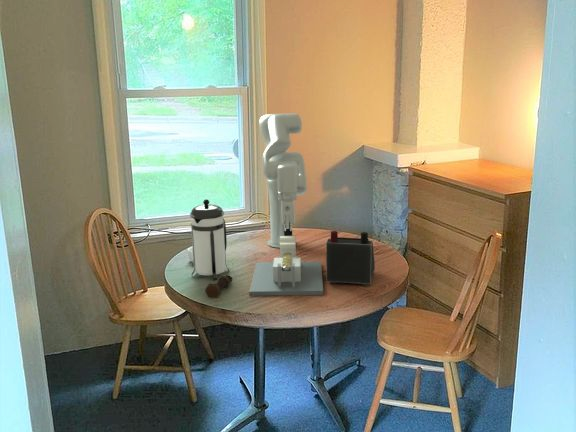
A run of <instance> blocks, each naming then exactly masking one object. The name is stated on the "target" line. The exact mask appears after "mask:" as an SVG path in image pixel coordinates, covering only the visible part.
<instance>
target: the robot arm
mask: <svg viewBox="0 0 576 432" xmlns="http://www.w3.org/2000/svg"><path fill="white" fill-rule="evenodd" d="M258 125H259V131H260V132H259V133H260V134H261V137H262V140H263V142H264V144H265V146H266V148H265V149H264V151H263V154H262V156H261V165H262V173H263V177H264V178H265V180H266V186H267V194H268V199H269V221H270V222H269V224H270V239H267V245H268V246H269V247H271V248H277V249H278V248H279V249H280V236H293V228H292V225H293V226H294V225H296V208H295V207H296V206H295V204H296V203H295V201H296V200H298V196H302V195H305V194H306V193H307V190H308V181H307V174H306V165H305V159H304V156H303V155H302V153H300V152H297V151H296V152H295V151H293V152H292V151H291V152H288V151H287V150H289V149H290V147H291V145H292V143H291V137H290V135H291V134H292V135H293V134H300V133H301V132H302V129H303V123H302V118H301V117H300V115H299V114H297V113H294V112H293V113H291V112H290V113H289V112H288V113H270V114H269V113H268V114H264V115H262V116H261V117H260V118H259V124H258Z"/></svg>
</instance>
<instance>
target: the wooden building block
mask: <svg viewBox="0 0 576 432" xmlns="http://www.w3.org/2000/svg"><path fill="white" fill-rule="evenodd" d="M282 271H291V253H284V254H283V263H282Z"/></svg>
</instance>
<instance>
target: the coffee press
mask: <svg viewBox="0 0 576 432" xmlns="http://www.w3.org/2000/svg"><path fill="white" fill-rule="evenodd" d="M202 203H203V204H201V205H197V206H195V207H193V208H192V209H191V211H190V213H189V217H190V219H191V223H190V228H191V244H192V245H191V247H193V261H194V262H193V271H192V272H191V277H192V278H194V279H195V277H197V276H198V275H201V276H211V278H212V281H214V282H215V281H218V277H217V275H219V274H222V273H224V272H225V273H230V269H229V268H228V267H227V256H226V250H227V245H228V243H227V242H228V241H227V226H226V225H227V224H226V221H225V219H224V215H225V212H224V210H223V208H222V207H221V206H219V205H217V204H211V203H210V200H209V199H204V200H203V202H202ZM226 269H227V270H226ZM195 272H196V273H195Z"/></svg>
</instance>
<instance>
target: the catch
mask: <svg viewBox="0 0 576 432" xmlns="http://www.w3.org/2000/svg"><path fill="white" fill-rule="evenodd" d="M279 249H280V250H279V251H280V252H279V258H283V254H284V253H291V258H297V254H296V252H297V249H296V235H292V236H280V248H279Z"/></svg>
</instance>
